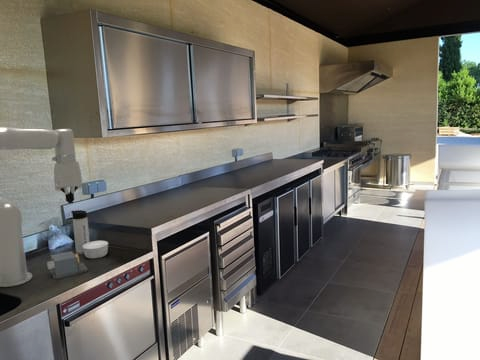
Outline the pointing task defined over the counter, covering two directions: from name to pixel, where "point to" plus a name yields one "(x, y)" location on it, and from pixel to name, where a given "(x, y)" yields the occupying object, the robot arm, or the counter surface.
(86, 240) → the travel mug
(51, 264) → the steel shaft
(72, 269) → the bearing housing
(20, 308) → the counter surface
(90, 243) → the ramekin
